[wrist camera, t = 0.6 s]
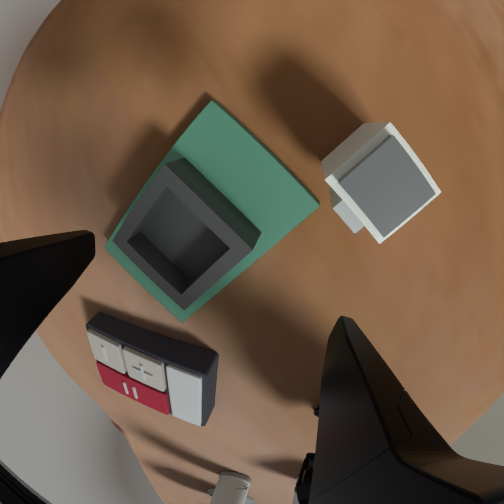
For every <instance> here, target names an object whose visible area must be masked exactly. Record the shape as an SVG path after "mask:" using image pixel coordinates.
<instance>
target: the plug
mask: <svg viewBox="0 0 504 504" xmlns="http://www.w3.org/2000/svg"><path fill="white" fill-rule="evenodd" d="M321 164H322V169H323V174H324V179H325V181H326V182H327V183H328V184H329V185H330V186H331V188H330V189H329V193H330V198H331V203H332V208H333V209H334V210H335V212H336V213H337V214H338V215H339V216H340V217H341V218H342V220H343V221H344V222H345V223H346V224H347V225H348V226H349V228H350V229H351V230H352V231H353V232H354V233H356V232H358V231H359V230H360V229H361V228H362V227H364V226H365V227H366V228H367V229H368V231H369V232H370V233H371V234H372V235H373V237H374V238H375V239H376V240H377V242H378V243H379V244H380V243H382V242H383V241H384V240H385V239H387V238H388V237H389V236H390V235H391V234H393V233H394V232H395V231H396V230H398V229H399V228H400V227H401V226H402V225H404V224H405V223H406V222H407V221H408V220H410V219H411V218H412V217H413V216H414V215H416V214H417V213H418V212H419V211H420V210H421V209H423V208H424V207H425V206H426V205H427V204H428V203H430V202H431V201H432V200H433V199H434V198H435V197H436V196H438V195H439V194H440V193H441V191H440V189H439V188H438V186H437V185H436V183H435V182H434V180H433V179H432V177H431V176H430V174H429V173H428V171H427V170H426V168H425V167H424V165H423V164H422V163H421V161H420V160H419V158H418V157H417V156H416V154H415V153H414V152H413V150H412V149H411V148H410V146H409V145H408V144H407V142H406V141H405V140H404V138H403V137H402V136H401V135H400V133H399V132H398V131H397V130H396V128H395V127H394V126H393V125H392V124H391V122H378V123H363V124H362V125H361V126H360V127H359V128H358V129H357V130H355V131H354V132H353V133H352V134H351V135H350V136H349V137H348V138H346V139H345V140H344V141H343V142H342V143H341V144H340V145H339V146H337V147H336V148H335V149H334V150H333V151H332V152H331V153H330V154H328V155H327V156H326V157H325V158H324V159H323V160H322V161H321Z"/></svg>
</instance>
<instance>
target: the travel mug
mask: <svg viewBox="0 0 504 504" xmlns="http://www.w3.org/2000/svg"><path fill="white" fill-rule="evenodd" d="M250 482H251V479H250V478H249V477H248V476H246V475H244V474H241V473H237V472H232V471H223V472H221V473H220V475H219V479H218V481H217V484H216V487H215V490H214V493H213V496H212V499H211V502H210V504H245V501H246V497H247V494H248V490H249V486H250Z"/></svg>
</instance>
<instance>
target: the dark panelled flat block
mask: <svg viewBox="0 0 504 504" xmlns="http://www.w3.org/2000/svg"><path fill="white" fill-rule="evenodd" d="M86 328H87V336H88V339H89V342H90V346H91V349H92V352H93V355H94V358H95V359H96V360H97V362H96V364H97V367H98V370H99V372H100V375H101V378H102V381H103V383H104V384H105V385H107V386H108V387H110V388H112V389H114V390H116V391H118V392H120V393H122V394H123V395H125V396H127V397H129V398H131V399H133V400H136V401H138V402H140V403H142V404H144V405H146V406H148V407H150V408H153V409H155V410H157V411H159V412H162V413H164V414H167V415H168V414H169V413H170V414H172V415H173V416H175V417H177V418H179V419H182V420H185V421H187V422H190V423H192V424H195V425H198V426H200V425H201V426H205V425H206V423H207V421H208V419H209V416H210V414H211V412H212V410H213V408H214V404H215V391H216V380H217V368H218V357H219V355H218V353H217V352H216V351H213V350H209V349H206V348H202V347H199V346H196V345H192V344H189V343H186V342H182V341H175V340H172V339H169V338H166V337H164V336H161V335H159V334H156V333H153V332H151V331H148V330H146V329H143V328H141V327H138V326H135V325H133V324H130V323H127V322H125V321H122V320H119V319H117V318H114V317H112V316H109V315H107V314H104V313H102V312H99V313H97V314H96V315H95V316H94V317H93V318H92V319H91V320H90V321H89V322H88V323H87V324H86Z"/></svg>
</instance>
